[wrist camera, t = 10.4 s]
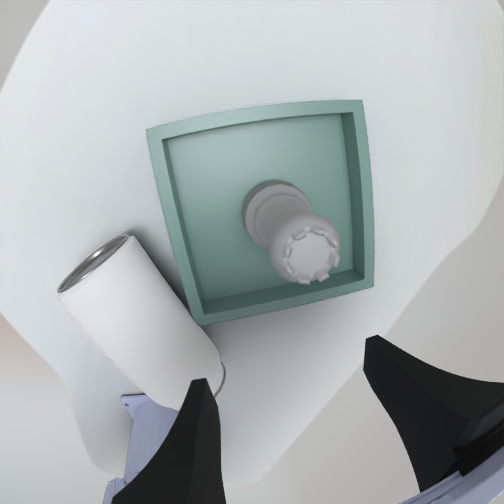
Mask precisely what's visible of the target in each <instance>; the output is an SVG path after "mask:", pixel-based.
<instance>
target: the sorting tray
mask: <svg viewBox="0 0 504 504" xmlns="http://www.w3.org/2000/svg"><path fill="white" fill-rule="evenodd" d="M146 135H147V140H148V145H149V150H150V156H151V160H152V165H153V170H154V175H155V179H156V184H157V188H158V193H159V197H160V201H161V206H162V210H163V214H164V218H165V222H166V226H167V230H168V234H169V238H170V242H171V245H172V249H173V253H174V257H175V260H176V264H177V267H178V271H179V274H180V278H181V281H182V285H183V288H184V291H185V295H186V298H187V301H188V305H189V308H190V311H191V314H192V317H193V319H194V321H195V322H196V323H197V325H198V326H202V325H208V324H214V323H219V322H224V321H230V320H235V319H240V318H245V317H250V316H255V315H259V314H264V313H269V312H273V311H278V310H283V309H287V308H291V307H296V306H300V305H304V304H309V303H313V302H317V301H321V300H325V299H329V298H333V297H337V296H341V295H345V294H349V293H352V292H356V291H360V290H364V289H367V288H371V287H374V210H373V191H372V177H371V165H370V154H369V145H368V136H367V128H366V121H365V114H364V107H363V101H362V100H328V101H310V102H297V103H286V104H277V105H268V106H260V107H253V108H246V109H239V110H233V111H227V112H221V113H215V114H210V115H205V116H200V117H195V118H190V119H186V120H181V121H177V122H173V123H169V124H165V125H161V126H157V127H153V128H149V129H146ZM274 180H281V181H285V182H289V183H292V184H293V185H294V186H296V187H297V188H298V189H300V190H301V191H302V192H303V193H304V194H305V195H306V197H307V199H308V201H309V203H310V204H311V209H312V213H314V214H318V215H323V216H324V217H325V218H327V219H328V220H329V221H331V222H332V223H333V224H334V226H335V228H336V230H337V232H338V234H339V237H340V251H339V254H338V255H339V256H341V258H340V261H339V264H338V267H335V266H332V268H331V269H330V270H329V271H328V275H329V276H330V277H329V278H327V279H326V280H324V281H323V282H321V283H320V281H319V280H318V279H317V280H314V281H310V285H304V284H299V283H297V282H291V281H288V280H286V279H285V278H283V277H282V276H280V275H278V273H277V272H276V270H275V269H274V267H273V266H272V264H271V260H270V253H269V250H268V249H264V248H263V247H261V246H259V245H258V244H256V243H255V242H253V240H252V239H251V237H250V236H249V235H248V233H247V232H246V230H245V229H244V227H243V221H242V216H241V213H242V209H243V204H244V201H245V199H246V198H247V196H248V195H249V194H250V192H251V191H252V189H254V188H256V187H257V186H259V185H260V184H262V183H264V182H268V181H274Z"/></svg>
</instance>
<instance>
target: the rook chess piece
mask: <svg viewBox="0 0 504 504" xmlns="http://www.w3.org/2000/svg"><path fill="white" fill-rule="evenodd" d="M241 216H242V221H243V227H244V229H245V230H246V232H247V233H248V235H249V236H250V237H251V239H252V240H253V242H255V243H256V244H258V245H259V246H261V247H263V248H264V249H268V250H269V253H270V260H271V264H272V266H273V267H274V269H275V270H276V272H277V273H278V275H280V276H282V277H283V278H285V279H286V280H288V281H291V282H297V283H299V284H304V285H310V281H314V280H317V279H318V280H319V281H320V283H321V282H323V281H324V280H326V279H327V278H329V277H330V276H329V275H328V271H329V270H330V269H331V268H332V266H335V267H338V264H339V261H340V258H341V256H339V255H338V254H339V251H340V237H339V234H338V232H337V230H336V228H335V226H334V224H333V223H332V222H331V221H329V220H328V219H327V218H325V217H324V216H323V215H318V214H314V213H312V209H311V204H310V203H309V201H308V199H307V197H306V195H305V194H304V193H303V192H302V191H301V190H300V189H298V188H297V187H296V186H294V185H293V184H292V183H289V182H285V181H281V180H274V181H268V182H264V183H262V184H260V185H259V186H257V187H256V188H254V189H252V191H251V192H250V194H249V195H248V196H247V198H246V199H245V201H244V204H243V209H242V213H241Z"/></svg>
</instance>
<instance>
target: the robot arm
mask: <svg viewBox="0 0 504 504" xmlns="http://www.w3.org/2000/svg"><path fill="white" fill-rule="evenodd" d="M363 371H364V373H365V375H366V377H367V379H368V381H369V384H370V386H371V387H372V389H373V391H374V393H375V394H376V396H377V397H378V399H379V400H380V402H381V403H382V405H383V407H384V408H385V409H386V411H387V413H388V414H389V416H390V417H391V419H392V420H393V422H394V424H395V426H396V428H397V430H398V432H399V434H400V436H401V438H402V441H403V443H404V446H405V448H406V450H407V453H408V455H409V458H410V461H411V464H412V466H413V469H414V472H415V475H416V479H417V482H418V485H419V489H420V494H418V495H416V496H414V497H412V498H410V499H408V500H406V501H404V502H402V503H400V504H431V503H432V502H434V501H435V502H434V503H432V504H489V503H491V502H492V501H493V500H494V499H495V498H497V497H498V496H499V495H500V494H501V493H502V492H503V491H504V383H498V382H487V381H480V380H475V379H470V378H466V377H462V376H458V375H455V374H452V373H449V372H446V371H444V370H441V369H438V368H436V367H434V366H432V365H429V364H427V363H425V362H423V361H421V360H419V359H418V358H415V357H414V356H412V355H410V354H408V353H407V352H405V351H403V350H402V349H400V348H398V347H397V346H395V345H393V344H392V343H390V342H389V341H387V340H385V339H384V338H382V337H380V336H379V335H375V336H372V337H369V338H366V343H365V356H364V367H363ZM120 402H121V403H122V405H123V406H124V407H125V409H126V410H127V412H128V413H129V415H130V416H131V417H132V419H133V425H132V431H131V436H130V442H129V447H128V453H127V460H126V466H125V473H124V478H123V479H120V478H115V479H114V480H111V481H109V482H108V485H107V487H106V491H105V494H104V499H103V504H226V499H225V494H224V487H223V481H222V473H221V431H220V419H219V412H218V406H217V403H216V401H215V398H214V396H213V394H212V391H211V389H210V386H209V384H208V381H207V379H206V378H201V379H194V380H192V381H191V383H190V386H189V389H188V391H187V394H186V397H185V399H184V402H183V404H182V406H181V408H180V411H179V413H178V412H175V411H173V410H172V409H171V408H168V407H164V406H161V405H159V404H157V403H156V402H155V401H153V400H152V399H151V398H150V397H148V396H147V395H134V396H122V397H121V399H120ZM436 500H437V501H436Z"/></svg>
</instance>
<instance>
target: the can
mask: <svg viewBox="0 0 504 504" xmlns="http://www.w3.org/2000/svg"><path fill="white" fill-rule="evenodd" d="M57 292H58V300H59V302H60V303H61V304H62V306H63V307H64V308H65V310H66V311H67V312H68V313H69V315H70V316H71V317H72V318H73V320H74V321H75V322H76V323H77V324H78V326H79V327H80V328H81V329H82V330H83V331H84V333H85V334H86V335H87V336H88V337H89V338H90V339H91V341H92V342H93V343H94V344H95V345H96V346H97V347H98V348H99V349H100V350H101V351H102V352H103V354H104V355H105V356H106V357H107V358H108V359H109V360H110V361H111V362H112V363H113V364H114V365H115V366H116V367H117V368H118V369H119V370H120V371H121V372H122V373H123V374H124V375H125V376H126V377H127V378H129V379H130V380H131V381H132V382H133V383H134V384H135V385H136V386H137V387H138V388H139V389H140V390H142V391H143V392H144V393H145V394H146V395H147V396H148V397H150V398H151V399H152V400H153V401H155V402H156V403H157V404H159V405H161V406H164V407H168V408H171V409H172V410H173V411H175V412H178V413H179V411H180V408H181V406H182V404H183V402H184V399H185V397H186V394H187V391H188V389H189V386H190V383H191V381H192V380H194V379H201V378H206V379H207V381H208V384H209V386H210V389H211V391H212V394H213V396H214V398H215V397H216V396H217V395H218V393H219V392H220V390H221V388H222V386H223V384H224V381H225V377H226V370H225V366H224V364H223V363H222V362H221V360H220V355H219V352H218V350H217V348H216V346H215V345H214V344H213V342H212V341H211V340H210V339H209V337H208V336H207V335H206V333H205V332H204V331H203V330H202V328H201V327H200V326H198V325H197V323H196V322H195V321H194V319H193V317H192V315H191V314H190V313H189V311H188V310H187V309H186V307H185V306H184V305H183V303H182V302H181V301H180V299H179V298H178V297H177V295H176V294H175V293H174V291H173V290H172V289H171V287H170V286H169V285H168V283H167V282H166V280H165V279H164V278H163V276H162V275H161V273H160V272H159V271H158V269H157V268H156V266H155V265H154V264H153V262H152V261H151V259H150V258H149V256H148V255H147V253H146V252H145V251H144V249H143V248H142V246H141V245H140V243H139V242H138V241H137V239H136V238H135V237H134V236H129V235H128V234H123V235H121V236H119V237H117V238H115V239H113V240H112V241H110V242H109V243H107V244H106V245H104V246H103V247H101V248H100V249H98V250H97V251H96V252H94V253H93V254H92V255H91V256H89V257H88V258H87V259H86V260H84V261H83V262H82V263H81V264H80V265H79V266H78V267H76V268H75V269H74V270H73V271H72V272H71V273H70V274H69V275H68V276H67V277H66V278H65V279H64V281H63V282H62V283H61V284H60V286H59V287H58V289H57Z"/></svg>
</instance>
